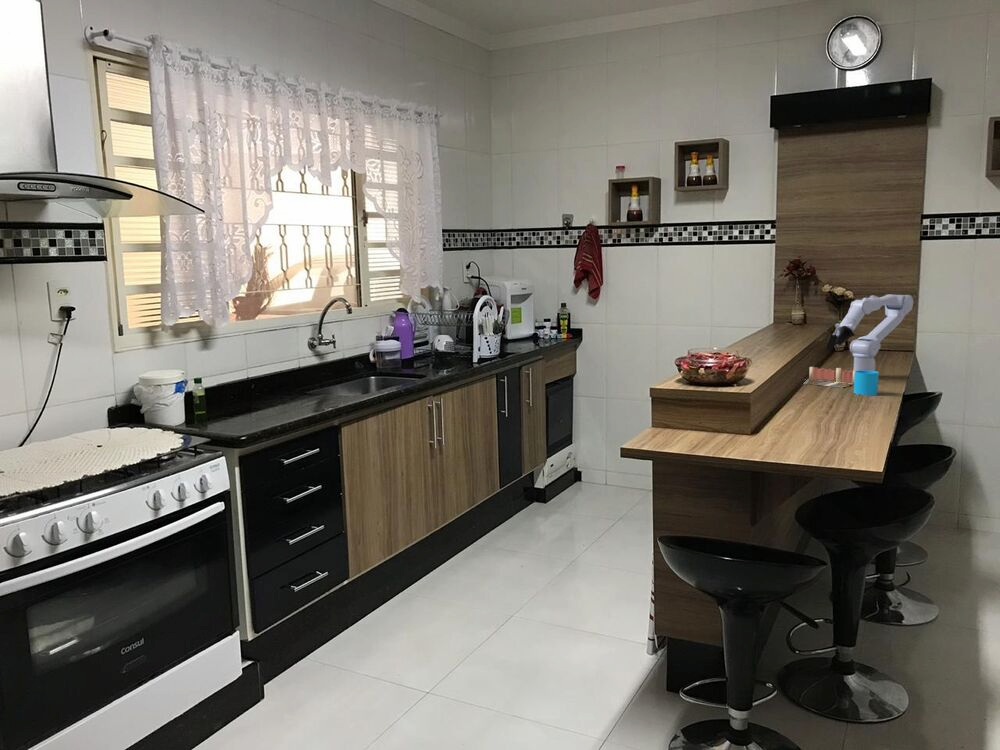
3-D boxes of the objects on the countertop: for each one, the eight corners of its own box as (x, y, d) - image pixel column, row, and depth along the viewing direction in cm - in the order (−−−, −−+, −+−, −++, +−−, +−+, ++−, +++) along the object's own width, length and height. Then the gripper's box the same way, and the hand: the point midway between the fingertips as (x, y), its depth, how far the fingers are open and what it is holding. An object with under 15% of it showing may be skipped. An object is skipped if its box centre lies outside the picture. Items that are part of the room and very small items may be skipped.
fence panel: (835, 381, 329) (835, 368, 328) (833, 381, 327) (834, 369, 327) (810, 378, 336) (810, 366, 335) (808, 379, 335) (808, 367, 334)
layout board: (818, 376, 344) (818, 375, 344) (865, 381, 331) (865, 380, 331) (794, 383, 328) (794, 382, 328) (843, 388, 314) (843, 387, 314)
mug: (875, 396, 297) (876, 374, 296) (851, 394, 301) (852, 372, 300) (881, 391, 307) (882, 370, 305) (857, 389, 311) (858, 368, 310)
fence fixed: (834, 383, 327) (835, 368, 326) (836, 382, 328) (837, 367, 328) (856, 385, 321) (856, 370, 320) (858, 384, 323) (858, 369, 322)
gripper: (832, 321, 338) (815, 344, 335) (852, 310, 324) (834, 334, 321) (845, 332, 338) (828, 356, 334) (866, 322, 324) (848, 346, 320)
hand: (832, 346), depth 328 cm, fingers open, 7 cm apart
